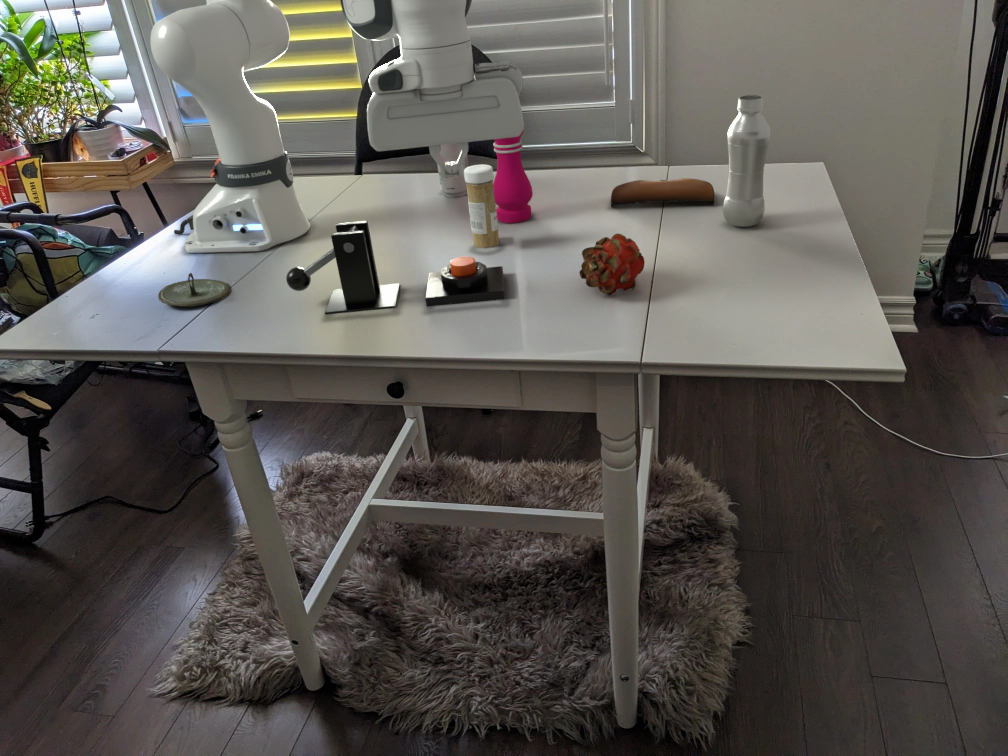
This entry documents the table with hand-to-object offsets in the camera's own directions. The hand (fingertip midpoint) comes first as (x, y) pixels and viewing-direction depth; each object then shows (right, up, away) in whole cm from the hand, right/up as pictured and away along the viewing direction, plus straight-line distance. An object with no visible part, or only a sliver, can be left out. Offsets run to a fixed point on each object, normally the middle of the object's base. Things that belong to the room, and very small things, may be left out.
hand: (452, 176), depth 108 cm
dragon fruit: (+22, -14, +7) cm, 28 cm away
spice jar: (+4, -6, +24) cm, 25 cm away
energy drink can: (-3, +10, +52) cm, 53 cm away
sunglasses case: (+35, +5, +37) cm, 51 cm away
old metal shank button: (-40, -16, +16) cm, 46 cm away
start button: (+1, -12, +7) cm, 14 cm away
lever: (-18, -12, +6) cm, 22 cm away
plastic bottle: (+46, -2, +23) cm, 52 cm away
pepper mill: (+9, +2, +36) cm, 37 cm away
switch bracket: (-13, -16, +9) cm, 23 cm away
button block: (+2, -15, +9) cm, 18 cm away
